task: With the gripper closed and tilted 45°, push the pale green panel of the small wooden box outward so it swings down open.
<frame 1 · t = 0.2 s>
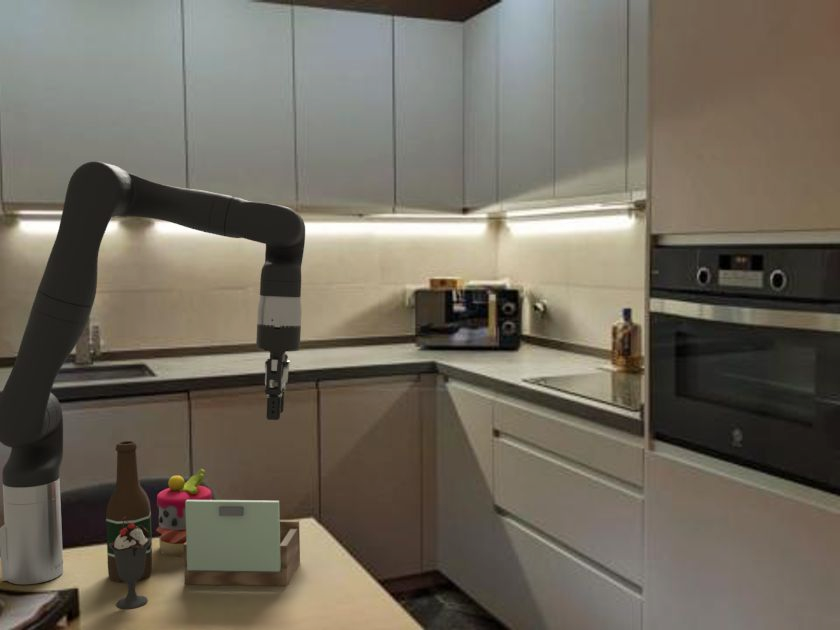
hand: (275, 415, 152), 29 cm above the table, tool pointing down, fingers open, 8 cm apart
pale green panel: (232, 537, 149), point 9 cm above the table, hinge at 0.0°
sundae: (132, 603, 144), on the table
cake: (185, 548, 171), on the table
wooden box: (244, 572, 157), on the table
beer bottle: (130, 576, 156), on the table
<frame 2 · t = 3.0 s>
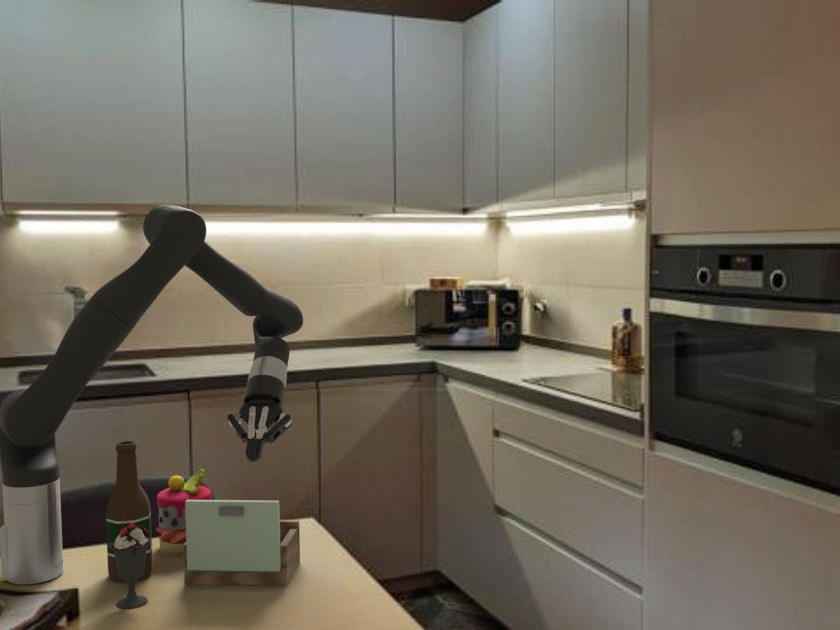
hand: (252, 459, 163), 19 cm above the table, tool tilted 45°, fingers closed
nothing on the table moved.
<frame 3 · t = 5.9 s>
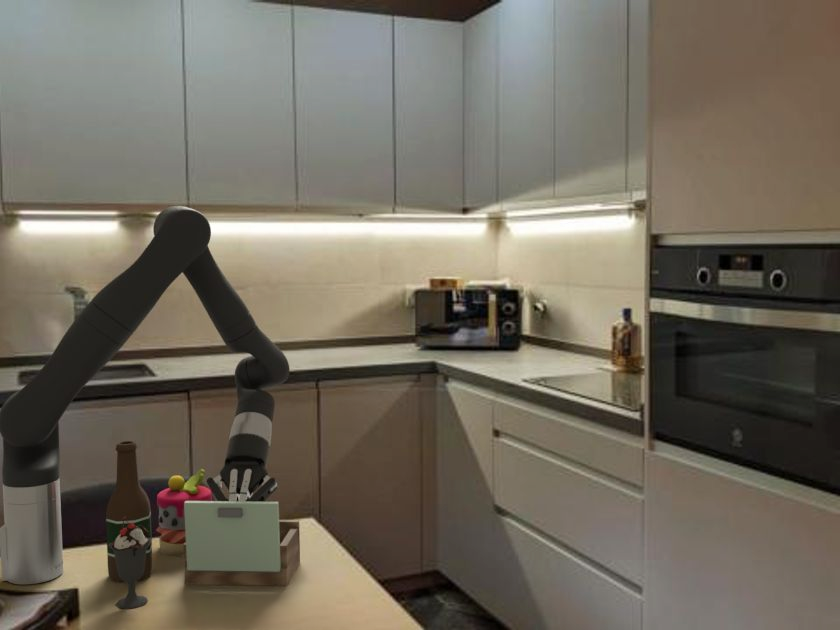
hand: (234, 529, 150), 10 cm above the table, tool tilted 45°, fingers closed
pale green panel: (232, 538, 149), point 9 cm above the table, hinge at 3.5°, touching gripper
everything else where it was.
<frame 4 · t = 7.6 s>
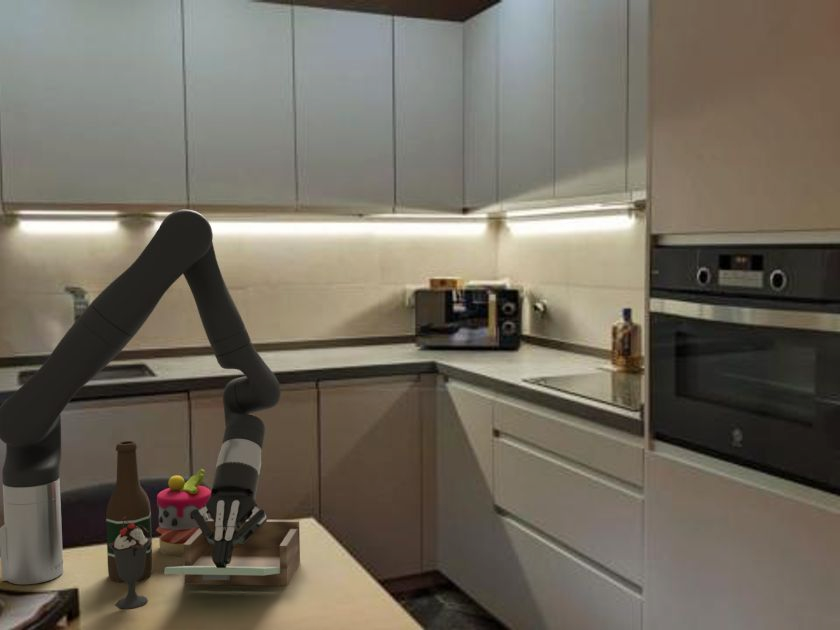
hand: (220, 565, 141), 7 cm above the table, tool tilted 45°, fingers closed
pale green panel: (224, 572, 144), point 5 cm above the table, hinge at 70.8°, touching gripper
everything else where it was.
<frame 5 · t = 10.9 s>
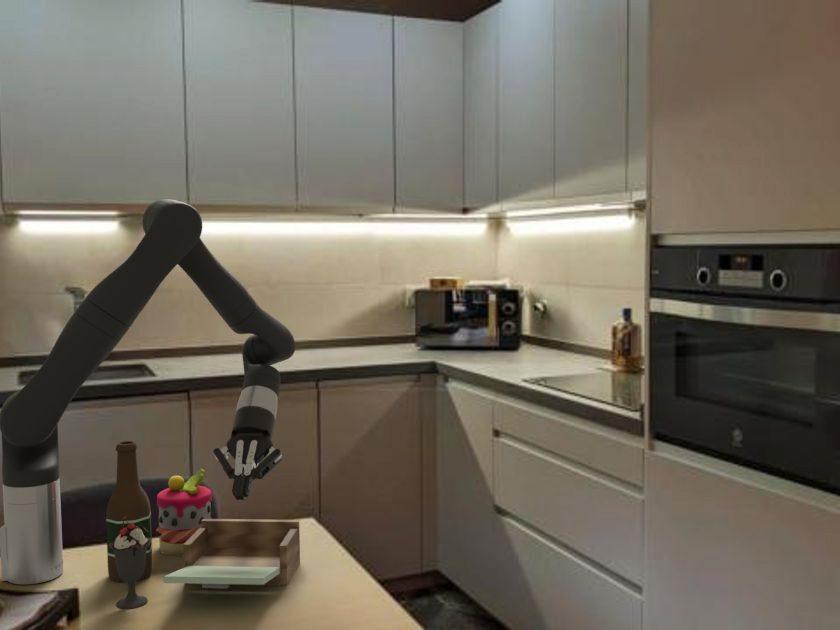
hand: (239, 497, 154), 14 cm above the table, tool tilted 45°, fingers closed
pale green panel: (224, 577, 144), point 4 cm above the table, hinge at 77.3°
everything else where it was.
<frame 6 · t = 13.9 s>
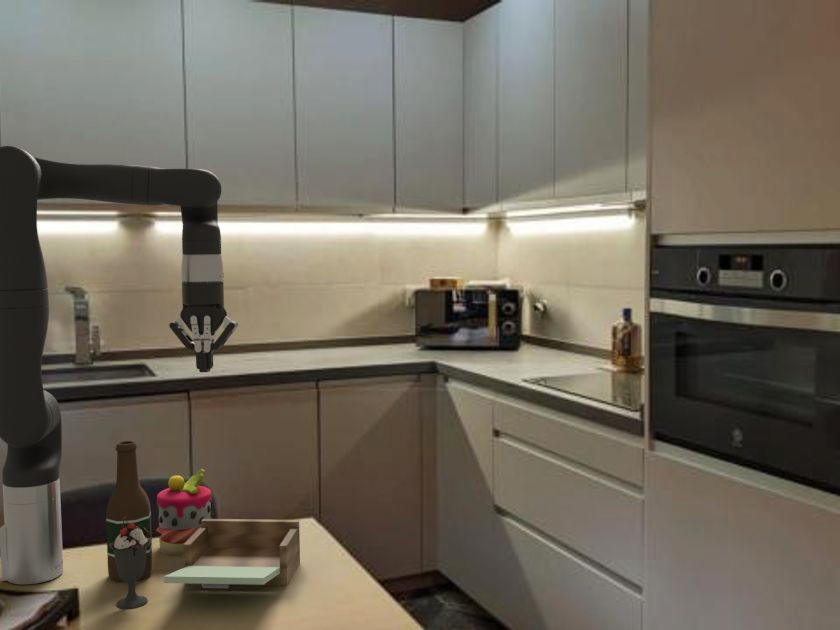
hand: (205, 371, 164), 35 cm above the table, tool pointing down, fingers closed
nothing on the table moved.
at the end: pale green panel at +77° (first picture: +0°) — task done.
